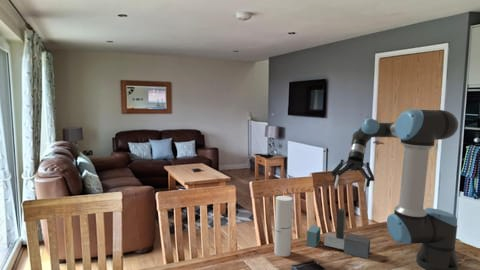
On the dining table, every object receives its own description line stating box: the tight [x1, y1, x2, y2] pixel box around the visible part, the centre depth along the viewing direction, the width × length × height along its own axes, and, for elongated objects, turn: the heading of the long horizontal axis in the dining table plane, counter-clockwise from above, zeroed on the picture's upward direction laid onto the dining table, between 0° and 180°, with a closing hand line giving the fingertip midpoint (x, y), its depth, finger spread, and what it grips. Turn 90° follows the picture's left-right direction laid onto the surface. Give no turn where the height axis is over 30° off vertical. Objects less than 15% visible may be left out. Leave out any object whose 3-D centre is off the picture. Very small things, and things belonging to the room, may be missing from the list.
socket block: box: [306, 224, 322, 248], centre depth 153 cm, size 4×8×7 cm, turn 152°
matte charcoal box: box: [343, 232, 371, 260], centre depth 144 cm, size 10×7×7 cm
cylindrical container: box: [274, 195, 293, 258], centre depth 142 cm, size 7×7×25 cm
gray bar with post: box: [323, 208, 346, 251], centre depth 146 cm, size 18×5×17 cm, turn 62°
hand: (349, 189), depth 156 cm, fingers open, 13 cm apart
